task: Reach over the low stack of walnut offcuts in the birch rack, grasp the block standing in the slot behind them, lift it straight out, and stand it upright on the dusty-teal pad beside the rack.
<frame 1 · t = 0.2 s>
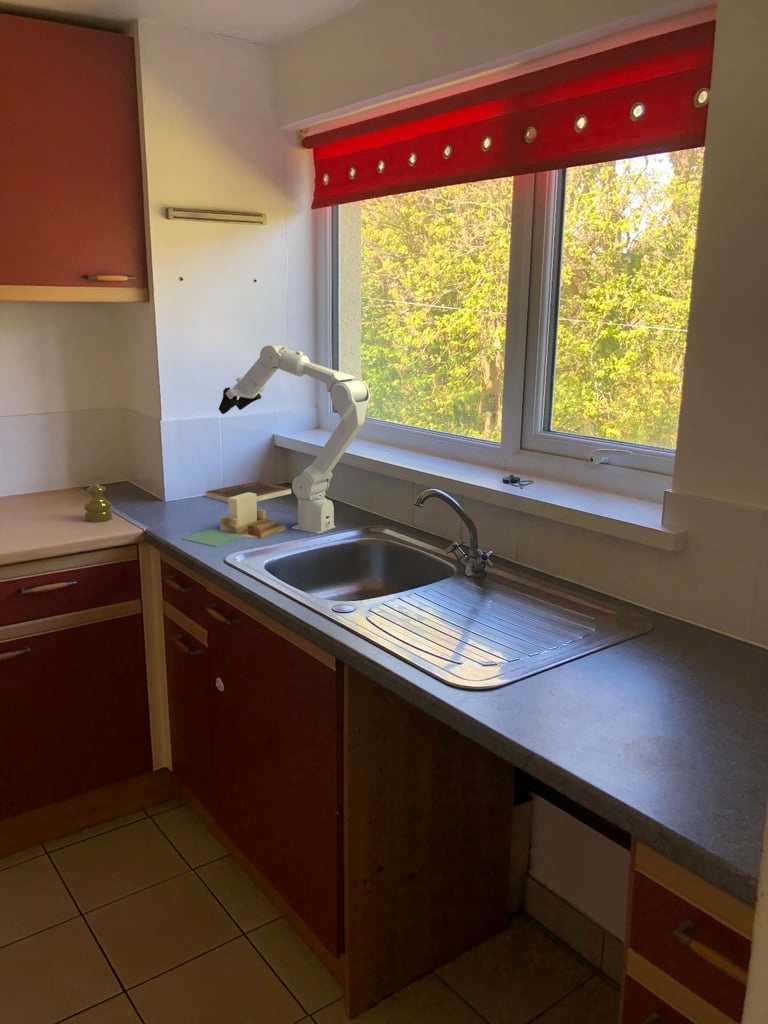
hand: (229, 409, 236), 31 cm above the worktop, tool tilted 45°, fingers open, 7 cm apart
offcut upper: (262, 527, 225), point 2 cm above the worktop, touching offcut lower
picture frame: (248, 497, 268), on the worktop
offcut lower: (264, 531, 226), resting on rack, touching offcut upper
rack: (253, 531, 228), on the worktop
block: (243, 527, 229), resting on rack
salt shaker: (98, 519, 238), on the worktop
pad: (213, 539, 220), on the worktop
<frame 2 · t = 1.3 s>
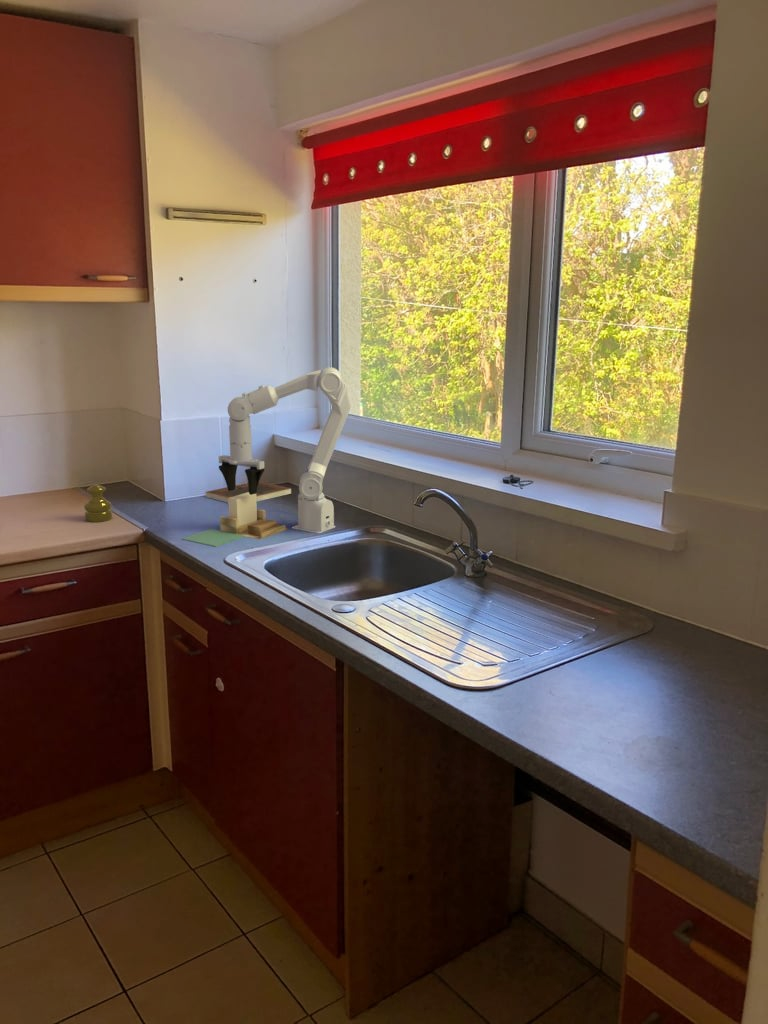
hand: (242, 492, 227), 10 cm above the worktop, tool pointing down, fingers open, 7 cm apart
nothing on the worktop moved.
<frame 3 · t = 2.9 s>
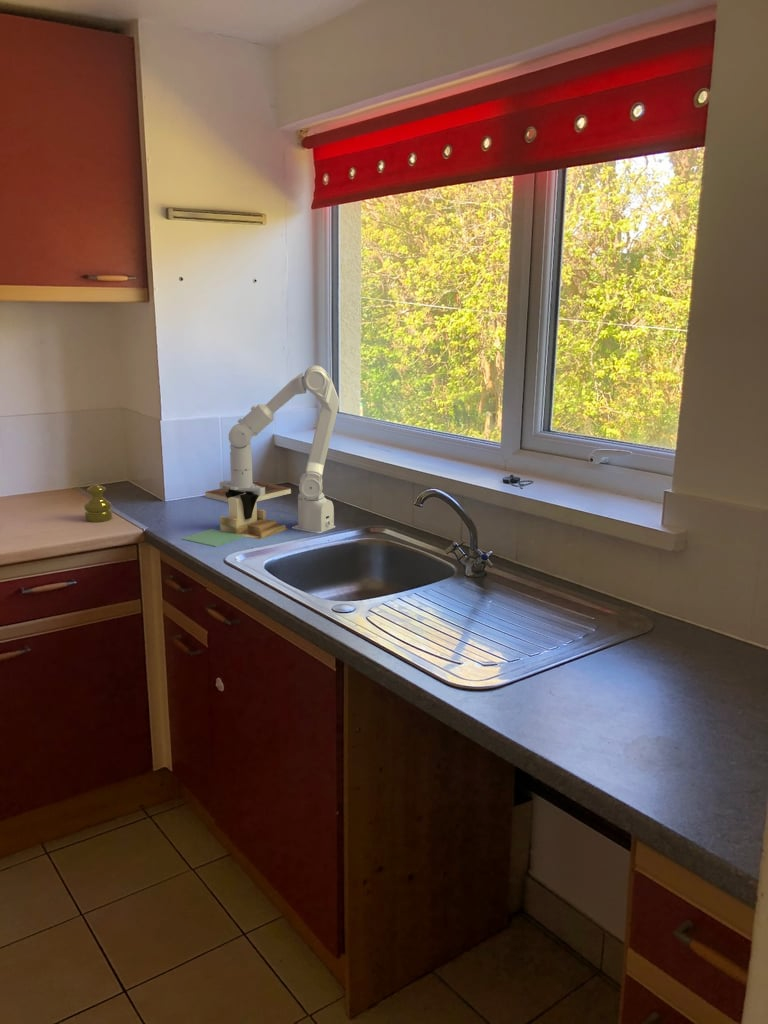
hand: (243, 517, 229), 3 cm above the worktop, tool pointing down, fingers closed on block, 3 cm apart
block: (243, 527, 229), resting on rack, touching gripper
everything else where it was.
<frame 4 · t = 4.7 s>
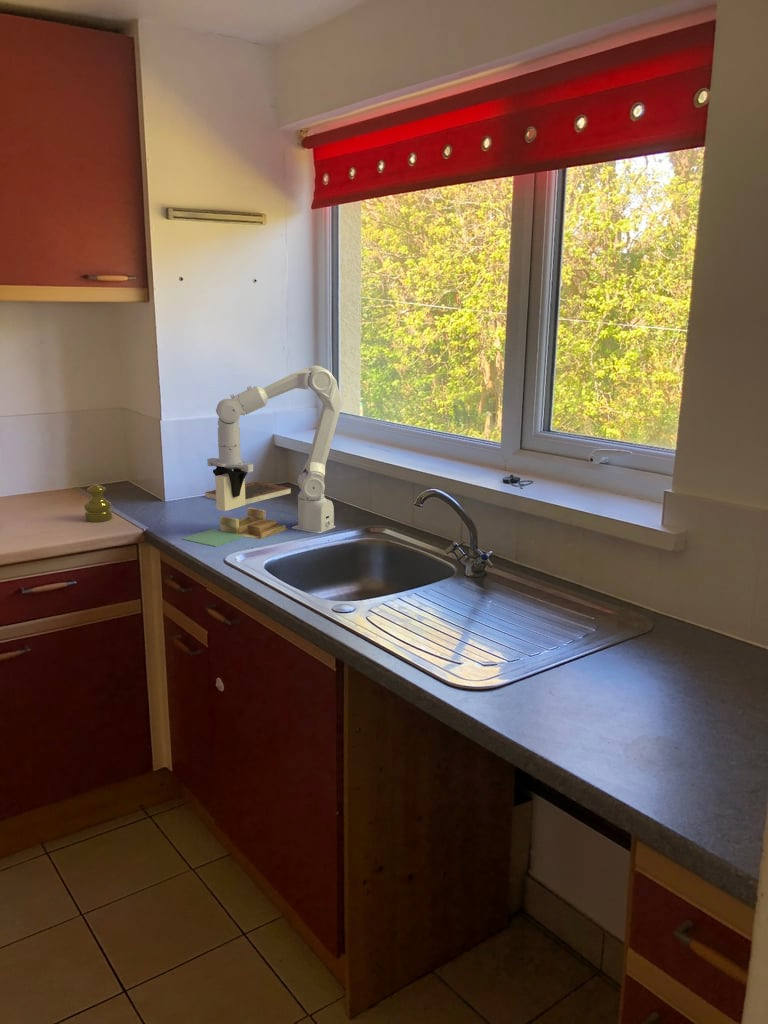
hand: (231, 495, 223), 10 cm above the worktop, tool pointing down, fingers closed on block, 3 cm apart
block: (231, 507, 224), point 7 cm above the worktop, touching gripper
everything else where it was.
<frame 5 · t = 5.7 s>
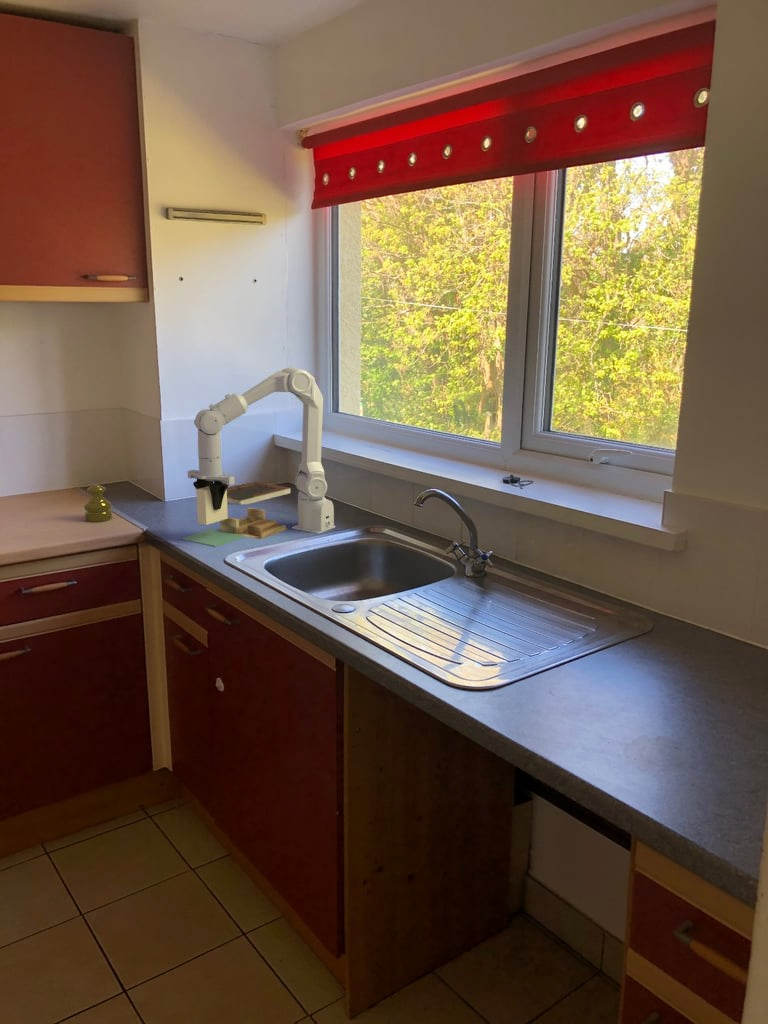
hand: (212, 508, 218), 8 cm above the worktop, tool pointing down, fingers closed on block, 3 cm apart
block: (212, 520, 219), point 5 cm above the worktop, touching gripper
everything else where it was.
when the fingers open (5 cm above the worktop, at t = 6.6 s): block stays where it is, resting on pad.
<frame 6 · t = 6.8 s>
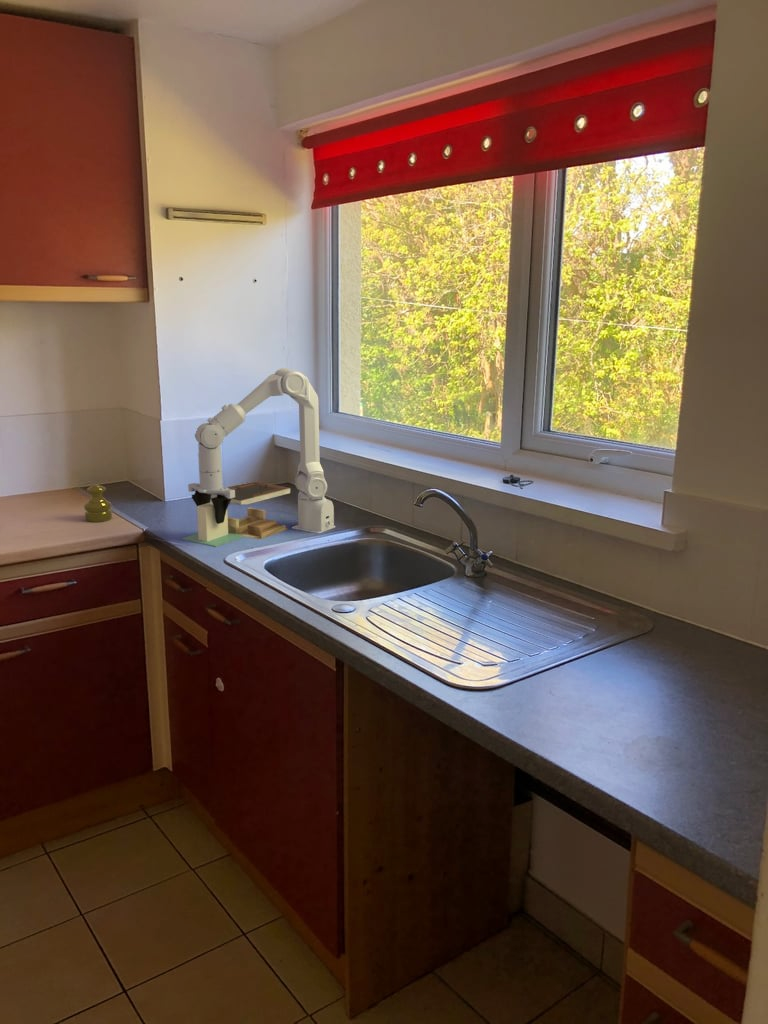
hand: (212, 521, 219), 5 cm above the worktop, tool pointing down, fingers open, 5 cm apart
block: (213, 537, 220), point 1 cm above the worktop, touching pad
everything else where it was.
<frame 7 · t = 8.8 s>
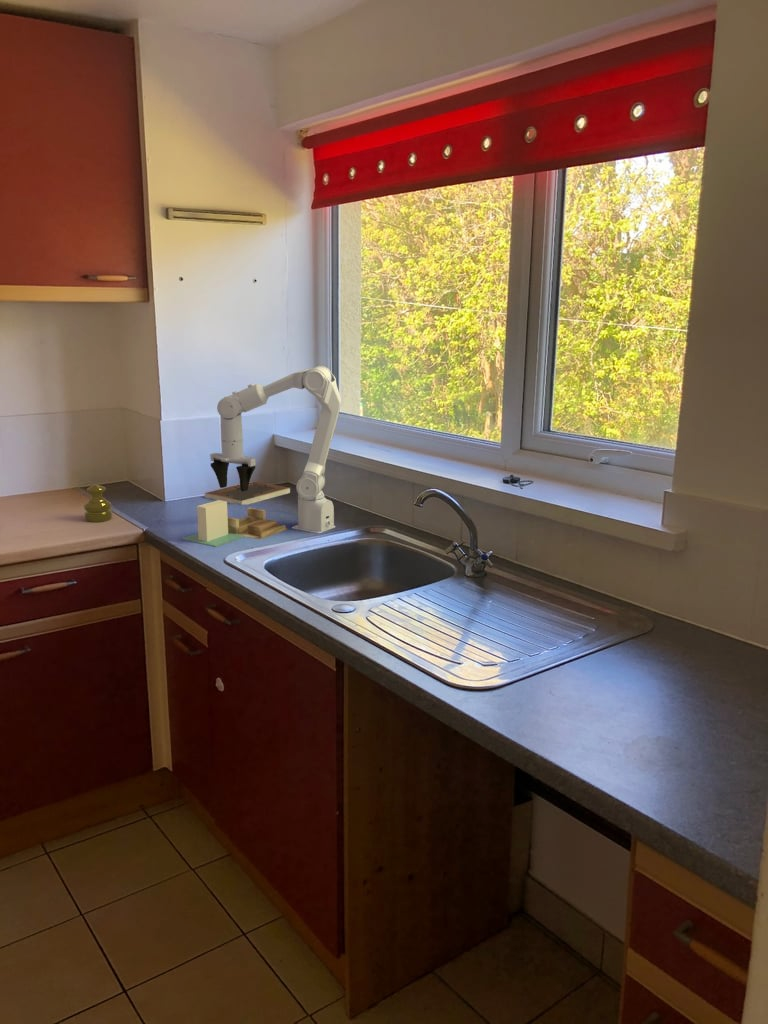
hand: (233, 488, 231), 10 cm above the worktop, tool pointing down, fingers open, 7 cm apart
nothing on the worktop moved.
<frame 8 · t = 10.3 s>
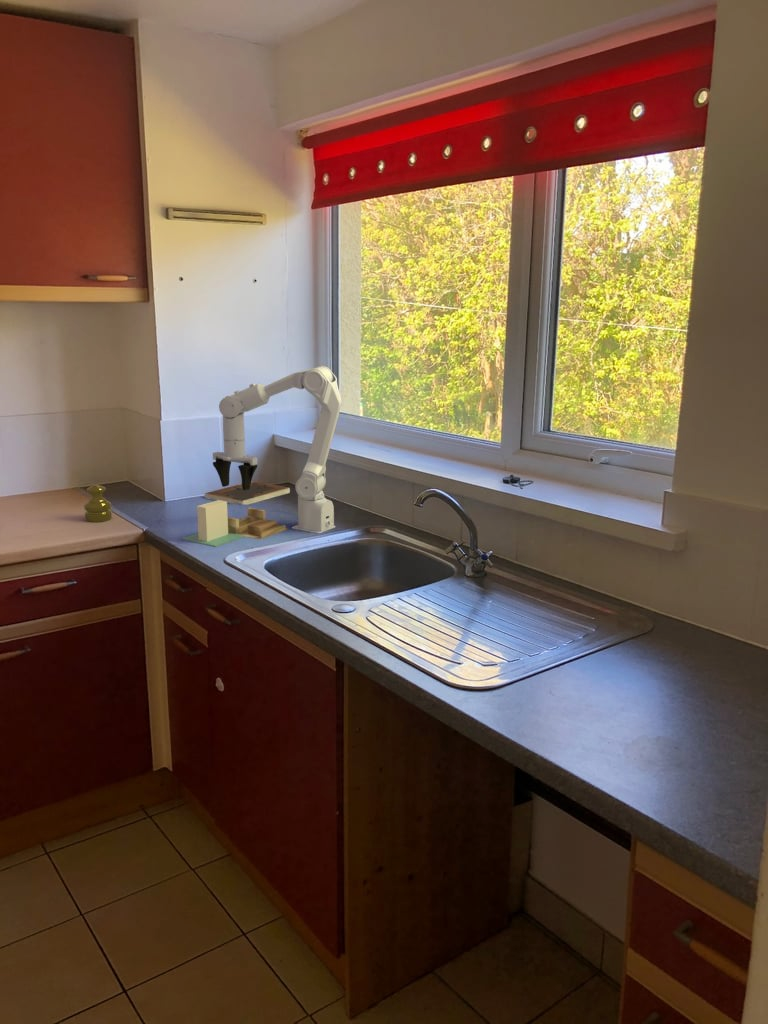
hand: (235, 487, 232), 10 cm above the worktop, tool pointing down, fingers open, 7 cm apart
nothing on the worktop moved.
at the end: block 0.1 cm off-centre on the pad, point 0.6 cm above the pad's base; block tilted 0°; offcut upper moved 0.0 cm from its start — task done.
